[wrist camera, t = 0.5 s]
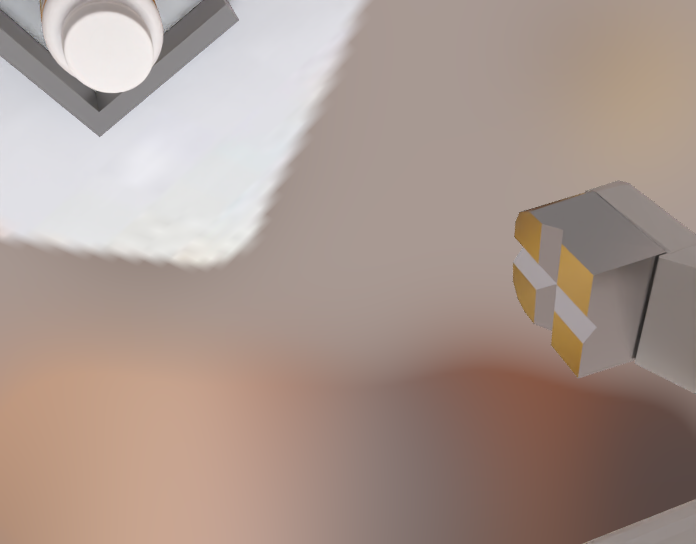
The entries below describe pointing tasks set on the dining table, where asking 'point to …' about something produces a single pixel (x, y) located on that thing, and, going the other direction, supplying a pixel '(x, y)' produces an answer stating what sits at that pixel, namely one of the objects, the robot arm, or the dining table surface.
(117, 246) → the dining table surface
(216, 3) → the charcoal bay
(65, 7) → the supplement bottle
